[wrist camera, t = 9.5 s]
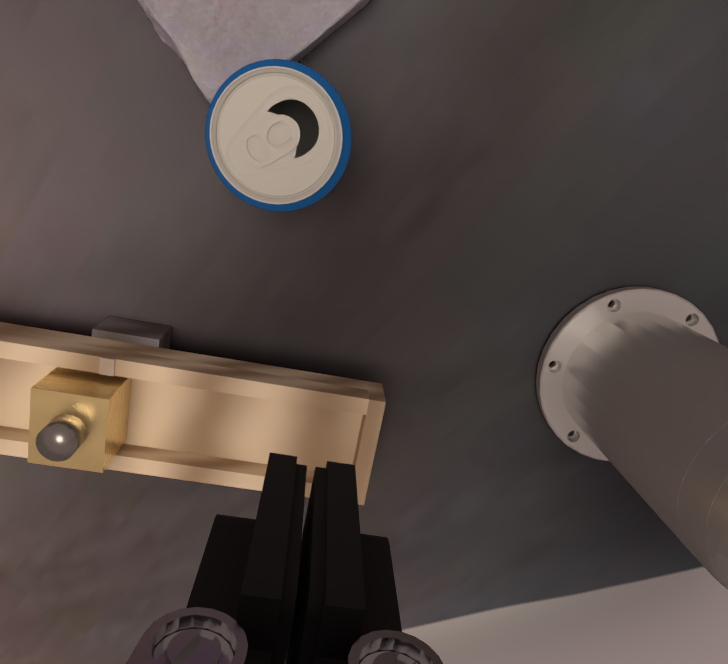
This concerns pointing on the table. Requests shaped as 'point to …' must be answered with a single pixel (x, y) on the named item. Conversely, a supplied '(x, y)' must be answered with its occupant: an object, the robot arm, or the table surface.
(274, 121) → the beverage can
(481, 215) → the table surface
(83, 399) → the rider
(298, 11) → the stone block
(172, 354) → the beam
